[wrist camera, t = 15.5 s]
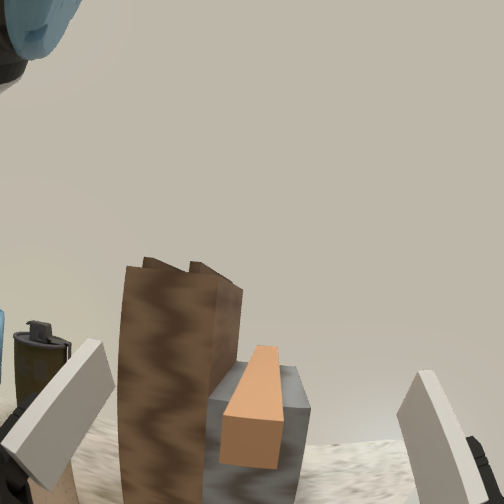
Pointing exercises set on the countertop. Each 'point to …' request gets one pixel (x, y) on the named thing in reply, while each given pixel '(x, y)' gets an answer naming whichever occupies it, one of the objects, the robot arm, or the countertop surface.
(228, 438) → the terracotta bar
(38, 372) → the canister
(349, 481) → the countertop surface
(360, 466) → the countertop surface
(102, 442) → the countertop surface
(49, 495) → the teacup with lid
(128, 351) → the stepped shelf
